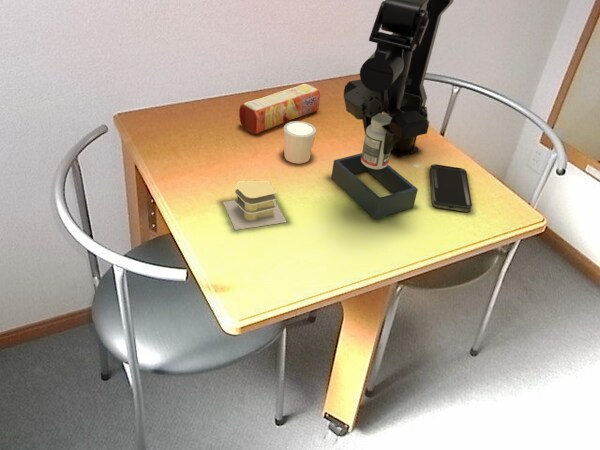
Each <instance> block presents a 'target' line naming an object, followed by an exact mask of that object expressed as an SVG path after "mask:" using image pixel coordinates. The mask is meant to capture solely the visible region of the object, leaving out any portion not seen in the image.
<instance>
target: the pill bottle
mask: <svg viewBox="0 0 600 450" xmlns="http://www.w3.org/2000/svg"><path fill="white" fill-rule="evenodd" d="M391 119H392V118H391V117H390V116H389V115H385V114H384V113H383V112H382V113H379V114H377V115H375V116H374V117H372V120H371V125H369V126H368V127H367V129H366V133H365V132H364V140H363V145H362V152H361V153H362V157H361V162H362V163H363V164H364V165H365V166H366V167H369V168H372V169H382V168H385V167H386V166H387V165H389V161H390V157H391V152H390V153H389V154H387V155H384V154H383V149H384V141H385V134H386V131H385V130H384V129H383V128H382V126H383V125H388V124H390V121H391Z"/></svg>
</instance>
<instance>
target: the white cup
mask: <svg viewBox="0 0 600 450" xmlns="http://www.w3.org/2000/svg"><path fill="white" fill-rule="evenodd" d="M316 132H317V129H316V127H315V126H314V125H313V124H311V123H309V122H306V121H301V120H299V121H298V120H295V121H288V122H286V123H285V125H284V126H283V150H284V154H283V156H284V159H285V160H286V161H288V162H289V163H293V164H298V165H299V164H300V165H301V164H305V163H307V162H309V161H310V159H311V155H312V152H313V151H312V150H313V146H314V141H315V137H316Z"/></svg>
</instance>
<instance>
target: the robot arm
mask: <svg viewBox="0 0 600 450" xmlns="http://www.w3.org/2000/svg"><path fill="white" fill-rule="evenodd" d="M454 1H455V0H383V1H382V2H381V3H380V5H379V8H378V11H377V15H376V16H375V20H374V22H373V26H372V28H371V31H370V35H369V38H368V42H372V43H376V48H375V50H374V52H373V53H372V54H371V55H370V56H369V57H368V58H367V59H366V60H365V61H364V62H363V63H362V65H361V67H360V68H359V78H360V79H354V80H350V81H348V82H347V84H345V86H344V90H343V100H344V105H345V110H346V112H347V113H349V114H351V115H352V116H353V117H354V118H355V119H356V120H359V121H360V120H361V121H362V124H363V129H364V134H365V133H366V129H367V127H368V126H369V125H371V120H372V117H374V116H375V115H377V114H379V113H382V114H385V115H389V116H390V117H391V118H392V119H391V121H390V124H388V125H383V126H382V128H383V129H384V130H385V131H386V134H385V141H384V149H383V154H384V155H387V154H389V153H390V154H393V155H394V156H395V157H397V158H398V157H402V156H406V155H410V154H414V153H417V152H419V151H420V149H419V147H418V146H416V142H417V137H419V136H422V135H426V134H428V130H429V126H430V121H429V115H428V107H427V106H426V104H427V100H428V95H427V93H426V89H425V85H424V83H425V78H426V75H427V71H428V68H429V64H430V61H431V56H432V53H433V48H434V45H435V42H436V37H437V34H438V29H439V27H440V23H441V18H442V15H443V14H444V13H445V12H446V11H447V10H448V8H449V7H451V5H453V3H454ZM380 30H381V31H380ZM386 32H387V33H386ZM388 32H389V33H388Z"/></svg>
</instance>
